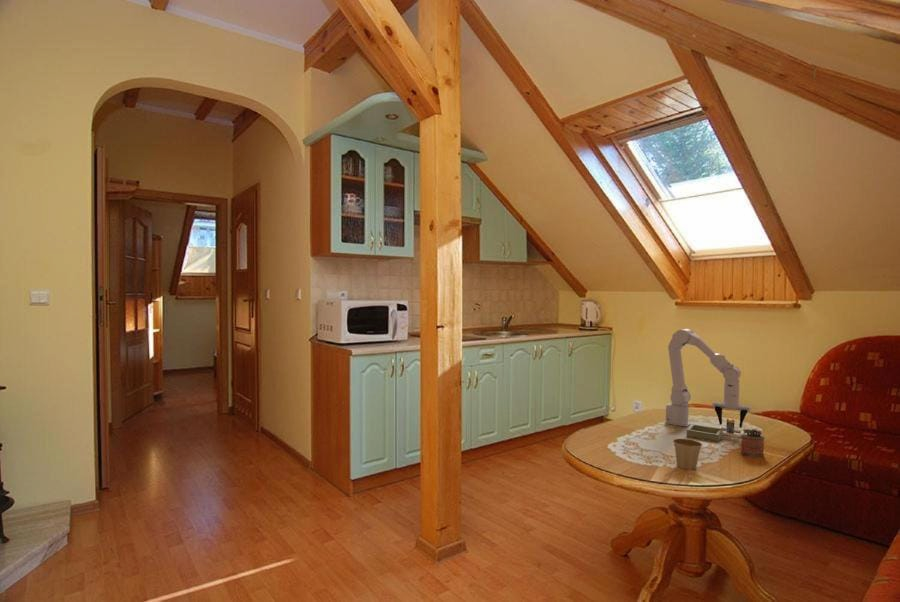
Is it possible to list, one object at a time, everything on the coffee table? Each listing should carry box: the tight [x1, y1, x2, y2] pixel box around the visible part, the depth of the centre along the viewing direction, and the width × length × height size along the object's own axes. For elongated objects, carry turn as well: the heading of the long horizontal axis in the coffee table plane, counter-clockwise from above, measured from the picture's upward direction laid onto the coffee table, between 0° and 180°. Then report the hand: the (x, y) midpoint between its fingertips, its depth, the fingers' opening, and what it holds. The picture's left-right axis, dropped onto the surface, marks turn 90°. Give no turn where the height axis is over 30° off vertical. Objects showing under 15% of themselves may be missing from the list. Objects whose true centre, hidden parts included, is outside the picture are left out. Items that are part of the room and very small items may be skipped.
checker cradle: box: [718, 426, 745, 439], centre depth 223 cm, size 10×10×1 cm
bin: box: [686, 423, 724, 443], centre depth 217 cm, size 12×12×3 cm
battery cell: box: [725, 418, 735, 434], centre depth 223 cm, size 3×3×6 cm
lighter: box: [740, 428, 766, 458], centre depth 192 cm, size 8×3×10 cm, turn 84°
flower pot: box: [672, 438, 703, 471], centre depth 178 cm, size 9×9×9 cm
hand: (730, 425), depth 223 cm, fingers open, 7 cm apart
